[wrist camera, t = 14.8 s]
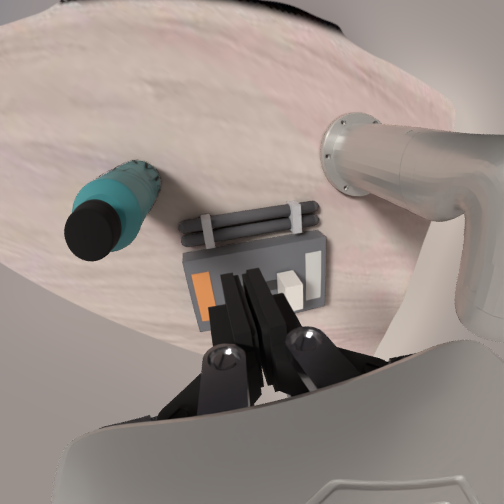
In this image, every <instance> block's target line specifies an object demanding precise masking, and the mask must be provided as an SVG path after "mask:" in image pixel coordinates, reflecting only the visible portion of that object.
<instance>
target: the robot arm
mask: <svg viewBox="0 0 504 504" xmlns="http://www.w3.org/2000/svg"><path fill="white" fill-rule="evenodd" d="M341 122H342V124H341ZM326 155H327V157H326V158H325V156H326ZM320 159H321V164H322V168H323V171H324V173H325V175H326V177H327V179H328V180H329V182H330V183H331V184H332V185H333V186H334V187H335V188H336V189H338V190H339V191H341V192H343V193H345V194H348V195H351V196H365V195H368V194H374V195H376V196H378V197H380V198H383V199H385V200H387V201H389V202H391V203H393V204H396V205H398V206H400V207H402V208H404V209H406V210H408V211H410V212H412V213H414V214H417V215H419V216H421V217H423V218H425V219H428V220H431V221H436V222H443V221H448V220H451V219H454V218H456V217H458V216H460V215H462V214H464V215H465V229H464V244H463V251H462V257H461V263H460V269H459V274H458V279H457V284H456V291H455V309H456V313H457V315H458V318H459V320H460V322H461V323H462V324H463V325H464V326H465V328H467V330H469V331H470V332H471V333H473V334H475V335H477V336H478V337H481V338H483V339H486V340H490V341H495V342H504V135H494V134H492V135H491V134H469V133H459V132H451V131H443V130H436V129H428V128H419V127H410V126H399V125H386V124H382V123H381V122H380V121H379V120H377V119H376V118H374V117H373V116H370V115H368V114H364V113H349V114H345V115H343V116H341V117H339V118H337V119H336V120H335V121H333V123H332V124H331V125H330V126H329V127H328V129H327V131H326V132H325V134H324V137H323V140H322V143H321V149H320ZM344 186H345V187H344ZM220 277H221V283H222V288H223V294H224V299H225V304H223V305H217V306H212V307H208V312H209V320H210V328H211V335H212V343H213V347H212V348H210V349H209V350H208V351H207V352H206V353H205V354H204V357H203V361H202V371H201V374H199V375H198V376H197V377H196V378H195V379H194V380H193V381H192V382H191V383H190V384H189V385H188V386H187V387H186V388H185V389H184V390H183V391H181V392H180V393H179V394H178V395H177V396H176V397H175V398H174V399H173V400H172V401H171V402H170V403H169V404H167V406H165V407H164V408H163V409H162V410H161V411H160V413H159V414H158V416H155V417H152V418H151V416H150V415H148V416H144V417H141V418H137V419H133V420H129V421H125V422H121V423H117V424H112V425H108V426H104V427H102V428H99V429H97V430H94V431H91V432H88V433H85V434H83V435H81V436H79V437H77V438H75V439H74V440H72V441H71V442H70V443H69V444H68V445H67V446H66V448H65V449H64V451H63V453H62V455H61V457H60V460H59V463H58V467H57V470H56V475H55V479H54V485H53V493H52V501H51V504H504V361H503V360H502V359H501V358H500V357H499V356H498V355H497V354H496V353H495V352H493V351H492V350H491V349H490V348H488V347H487V346H485V345H484V344H482V343H480V342H477V341H473V340H458V341H451V342H447V343H443V344H440V345H436V346H433V347H431V348H428V349H426V350H423V351H421V352H418V353H414V354H409V355H405V356H399V357H394V358H390V359H389V361H388V362H386V361H385V360H382V359H380V358H376V357H373V356H369V355H365V354H361V353H357V352H353V351H350V350H346V349H342V348H339V347H336V346H335V344H334V343H333V342H332V341H331V340H330V339H329V338H328V337H327V336H326V334H325V333H324V332H322V331H321V330H320V329H317V328H315V327H309V326H305V327H302V326H301V324H300V322H299V320H298V318H297V316H296V315H295V313H294V311H293V309H292V307H291V306H290V304H289V302H288V300H287V298H286V297H285V295H284V293H279V294H274V295H272V293H271V291H270V289H269V287H268V285H267V283H266V281H265V279H264V277H263V275H262V273H261V271H260V269H259V268H253V269H248V270H246V273H244V274H242V280H243V287H244V291H243V288H242V285H241V282H240V279H239V276H238V275H233V272H232V273H226V274H221V275H220ZM261 366H262V367H261ZM262 369H263V372H264V375H265V378H266V382H267V384H268V386H269V385H273V387H274V390H275V392H277V391H281V392H283V393H286V394H287V397H288V398H285V399H281V400H278V401H274V402H269V403H265V404H260V405H256V406H254V403H255V402H256V401H257V400H258V398H259V397H260V396H261V395H262V393H261V387H264V383H263V375H262Z"/></svg>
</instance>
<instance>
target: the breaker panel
mask: <svg viewBox="0 0 504 504" xmlns="http://www.w3.org/2000/svg"><path fill="white" fill-rule="evenodd" d="M182 263H183V267H184V271H185V276H186V280H187V284H188V288H189V292H190V296H191V300H192V304H193V308H194V311H195V315H196V319H197V323H198V326H199V330H200V332H204V331H210V330H211V328H210V320H209V312H208V307H212V306H217V305H223V304H225V299H224V294H223V288H222V283H221V277H220V275H221V274H226V273H232V272H233V275H238V276H239V279H240V282H241V285H242V288H243V291H244V287H243V280H242V274H244V273H246V270H248V269H253V268H259V269H260V271H261V273H262V275H263V277H264V279H265V281H266V283H267V285H268V287H269V289H270V291H271V293H272V295H274V294H278V284H277V273H281V272H286V271H291V270H293V271H294V272H295V274H296V275H297V276H298V278H299V279H300V281H301V282H302V284H303V309H300V310H296V311H294V313H297V312H301V311H306V310H310V309H314V308H318V307H322V306H324V303H325V274H326V236H324V235H323V234H322V233H321V232H320V231H319V230H313V231H307V232H302V233H297V234H289V235H284V236H278V237H272V238H266V239H260V240H254V241H249V242H243V243H237V244H232V245H226V246H220V247H215V248H210V249H203V250H198V251H192V252H187V253H183V261H182Z"/></svg>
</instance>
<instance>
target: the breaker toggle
mask: <svg viewBox="0 0 504 504" xmlns="http://www.w3.org/2000/svg"><path fill="white" fill-rule="evenodd" d="M277 284H278V294H279V293H284V295H285V297H286V298H287V300H288V302H289V304H290V306H291V307H292V309H293V311H296V310H300V309H303V284H302V282H301V281H300V279H299V278H298V276H297V275H296V274H295V272H294V271H293V270H291V271H286V272H281V273H277Z"/></svg>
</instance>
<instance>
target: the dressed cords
mask: <svg viewBox="0 0 504 504" xmlns="http://www.w3.org/2000/svg"><path fill="white" fill-rule="evenodd" d="M317 210H318V203H317V202H315V201H308V202H300V203H298V202H296V201H295V200H294V201H287V204H286V205H279V206H272V207H266V208H259V209H252V210H246V211H240V212H234V213H228V214H222V215H216V216H210V214H204V215H201V218H198V219H193V220H187V221H182V222H181V223H180V224H179V226H178V229H179V231H180V232H182V233H189V232H194V231H200V230H203V232H201V233H195V234H189V235H185V236H183V237H182V239H181V243H182V245H183V246H185V247H190V246H195V245H201V244H205V245H206V249H210V248H215V243H214V242H218V241H223V240H229V239H235V238H241V237H247V236H252V235H258V234H264V233H270V232H276V231H282V230H288V229H290V230H291V232H292V233H293V234H297V233H302V227H306V226H313V225H316V224H317V223H318V222H319V218H318V216H317V215H315V214H311V215H304V216H301V214H304V213H311V212H315V211H317ZM284 216H288V218H285V219H278V220H272V221H266V222H259V223H253V224H247V225H241V226H235V227H229V228H224V229H218V230H212V228H217V227H223V226H228V225H234V224H240V223H246V222H253V221H259V220H265V219H271V218H278V217H284Z"/></svg>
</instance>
